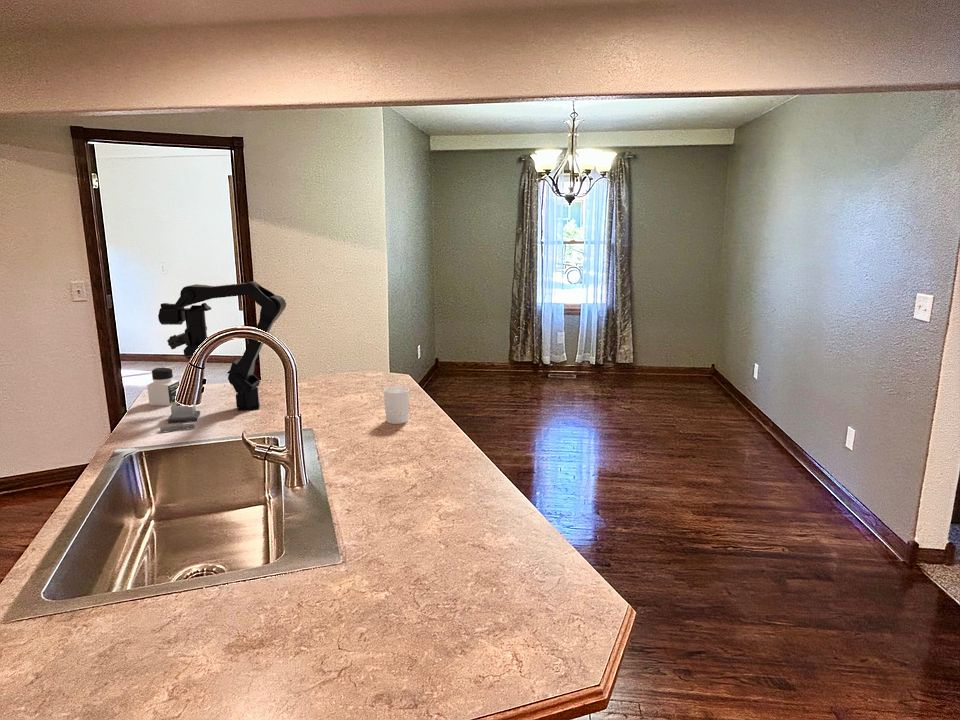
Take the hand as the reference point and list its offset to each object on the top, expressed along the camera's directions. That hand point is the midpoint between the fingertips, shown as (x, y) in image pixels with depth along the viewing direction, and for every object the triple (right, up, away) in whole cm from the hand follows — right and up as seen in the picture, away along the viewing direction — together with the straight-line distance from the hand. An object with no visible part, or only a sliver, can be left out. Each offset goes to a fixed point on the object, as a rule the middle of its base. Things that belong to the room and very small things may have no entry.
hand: (200, 372), depth 195 cm
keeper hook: (-1, -14, -8) cm, 17 cm away
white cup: (+65, -15, -9) cm, 67 cm away
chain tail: (+3, -16, -18) cm, 25 cm away
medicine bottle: (-15, -11, +8) cm, 20 cm away
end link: (-1, -13, -9) cm, 16 cm away
